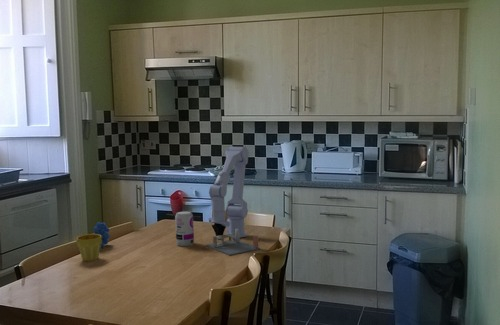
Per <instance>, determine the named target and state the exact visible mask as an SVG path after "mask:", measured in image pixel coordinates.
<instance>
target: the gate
mask: <svg viewBox="0 0 500 325" xmlns="http://www.w3.org/2000/svg"><path fill="white" fill-rule="evenodd" d="M225 234H226V235H225ZM225 234H223V235H221V236H216V235H215V236H212V243H213V246H214V247H217V246H222V245H227V244H232V243H236V242H235V239H236V238H235V233H231V234H227V233H225ZM232 236H233V238H232ZM226 238H228V240H229V241H228V242H224V241H225V239H226ZM217 239H221V240H220V242H222V243H217V242H218V240H217ZM232 239H233V241H231V240H232Z"/></svg>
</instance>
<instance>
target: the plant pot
mask: <svg viewBox="0 0 500 325" xmlns="http://www.w3.org/2000/svg"><path fill="white" fill-rule="evenodd" d="M75 240H76V241H75V242H76V246H77V247H78V250H79V253H80V256H81V260H82V261H84V262H91V261H95V260H98V259H99V256H100V248H101V247H100V244H102V236H101V235H99V234H93V233H88V234H82V235H79V236H77V237H76V239H75Z"/></svg>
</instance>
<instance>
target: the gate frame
mask: <svg viewBox="0 0 500 325" xmlns="http://www.w3.org/2000/svg"><path fill="white" fill-rule="evenodd" d="M235 234H236V238H235V242H236V243H232V244H227V245H222V246H217V247H214V246H213V242H211V243H206V244H205V246H206V247H208V248H210V249H212V250H215V251H217V252H220V253H222V254H225V255H226V256H234V255H235V256H236V255H240V254H245V253H249V252H254V251H258V250H261V248H260V247H259V235H257V234H254V235H252V241H253V242H252V244H250V243H248V242H245V241H243V240H240V238H241V237H239V229H235ZM228 241H229V239H228V240H224V242H228ZM231 241H233V238H231ZM217 243H222V242H221V241H217Z"/></svg>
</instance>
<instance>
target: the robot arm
mask: <svg viewBox="0 0 500 325" xmlns="http://www.w3.org/2000/svg"><path fill="white" fill-rule="evenodd" d="M248 163H249V150H248V147H246V146H229V145H228V146H227V148H226V149H225V161H224V165H223V168H222V169H221V171H219V173H218V174H217V177H216V179H215V181H214V183H213V184H212V185H211V186H210V187H209V189H208V190H209V191H208V194H209V197H210V201H211V209H212V210H211V211H212V213H211V214H212V217H208V223H211V227H212V229H213V231H214V233H215V236H221V235H226V234H231V233H235V229H239V237H240V238H244V237H249V234H247V233H245V218H247V216H248V211H249V209H248V203H247V201H245V199H243V197H244V196H243V195H244V188H245V187H244V186H245V185H244V184H245V176H246V174H245V173H246V165H247V164H248ZM233 167H234V174H233V175H234V176H233V184H232V185H233V187H232V196H231V197H232V198H230V199H229V200H228V201H227V203H226V207H225V197H226V196H227V192H228V191H227V190H228V183H229V182H230V178H231V175H230V173H231V171H232V170H233ZM226 217H227V219H226ZM225 230H226V233H225ZM224 233H225V234H224ZM231 239H233V236H232V237H231ZM235 239H236V234H235ZM217 241H221V239H217Z"/></svg>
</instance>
